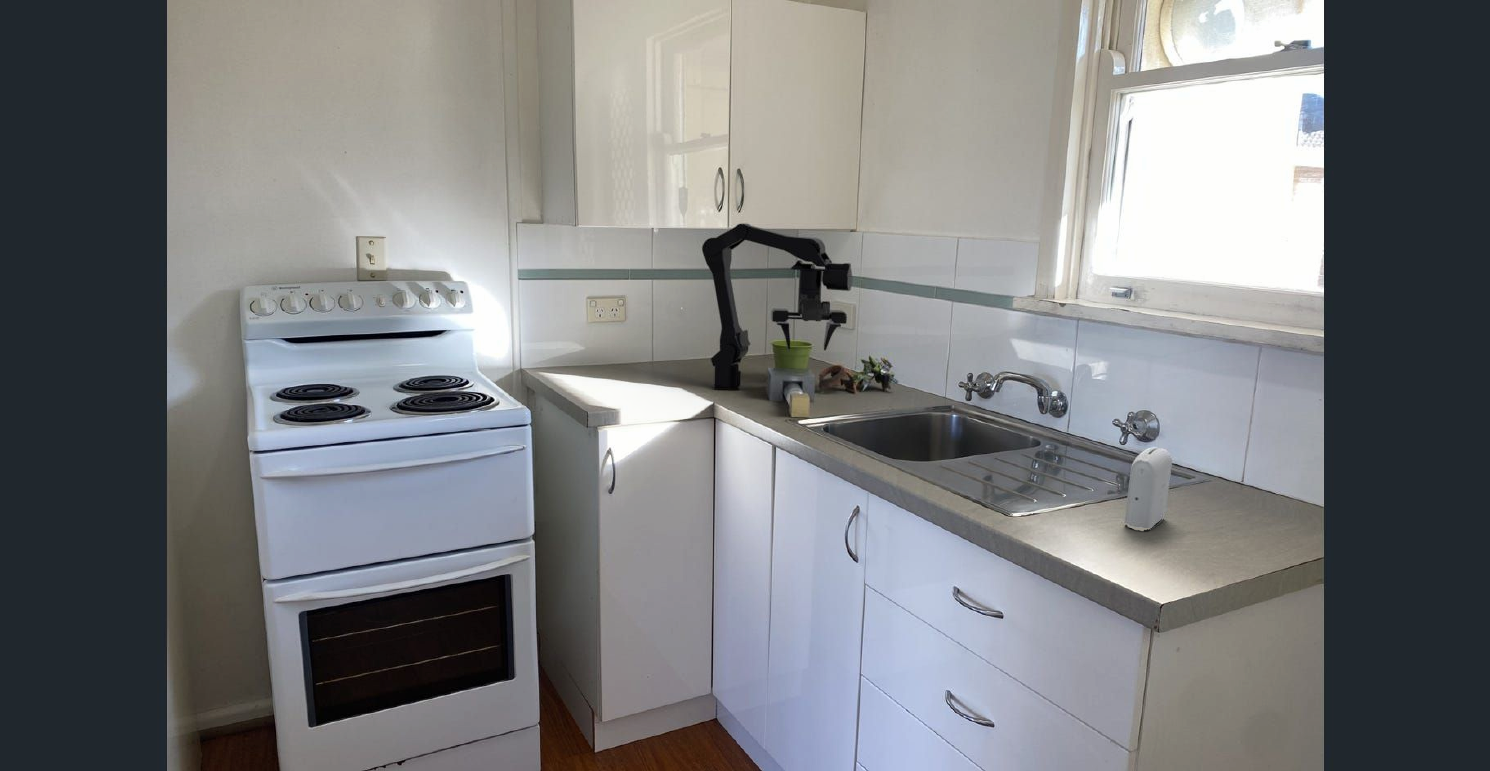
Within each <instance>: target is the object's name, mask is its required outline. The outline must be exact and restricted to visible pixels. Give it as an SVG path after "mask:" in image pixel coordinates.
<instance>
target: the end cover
mask: <svg viewBox="0 0 1490 771" xmlns="http://www.w3.org/2000/svg"><path fill="white" fill-rule="evenodd" d="M783 395H784V397H785V400H786V402H787V403H788V406H789V408H788V409H789V412H788V413H789V414H790V416H791V418H810V404H811V402H810V397H809V396H808V394H807V393H803V391H802V390H801V388H800V386H799V385H797V384H795V383H790V384H788V385H787V386H786V387H785V389H784V393H783Z"/></svg>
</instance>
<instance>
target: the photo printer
mask: <svg viewBox="0 0 1490 771" xmlns="http://www.w3.org/2000/svg"><path fill="white" fill-rule="evenodd" d="M1172 465H1173V458H1172V455H1171V453H1170V452H1169V451H1167V450H1166V449H1165V448H1160V447H1157V446H1152V447H1149V448H1146V449H1144V450H1143V451H1142V452H1140V453H1139V454H1138V455H1137V456H1136V457H1135V459H1134V460H1133V462H1132V464H1131V468H1130V475H1129V482H1128V489H1127V490H1128V491H1127V497H1126V498H1127V500H1126V507H1125V516H1124V524H1125V523H1127V524H1129V525H1130V526H1134V527H1143V528H1150V527H1153V526H1154V525H1155V524H1156V523H1157V522H1159V521H1160V520H1161V519H1162V518H1163V517H1164V518H1165V516H1166V512H1167V504H1168V495H1169V490H1170V489H1169V488H1170V481H1171V475H1172V474H1171V472H1172ZM1164 518H1163V519H1164ZM1163 519H1162V520H1163ZM1162 520H1161V521H1162ZM1161 521H1160V522H1161ZM1160 522H1159V523H1160ZM1154 527H1155V526H1154ZM1154 527H1153V528H1154Z"/></svg>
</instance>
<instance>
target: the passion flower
mask: <svg viewBox="0 0 1490 771" xmlns="http://www.w3.org/2000/svg"><path fill="white" fill-rule="evenodd" d="M880 360H881V361H880ZM880 360H879V359H878V358H874V356H873V355H869V356H868V360H866V359H863V357H861V359H860V362H861V363H862V364H863V370H862V371H860V372H857V373H855V372H853V371H852V370H851V369H847V370H848V371H849V372H850V373H851V374H852V376H853V378H854V380H855V385H856V388H859V387H861V386H862V384H863V388H862V390H861V393H863V392H864V390H865V389H866V388H867V387H868V386H869V385H871V383H872V380H875V382H876V383H877V384H881V388H882V389H883V391H888V390H891V389H892V388H891V382H892V383H894V384H897V385H898V384H899V380H898V379H896V377H895V372H893V371H891V368H893V364H892V363H891V362H890V361H889V360H888V359H886V357H881V358H880ZM869 374H873V375H872V376H871V377H869V376H868V375H869ZM887 389H888V390H887Z"/></svg>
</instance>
